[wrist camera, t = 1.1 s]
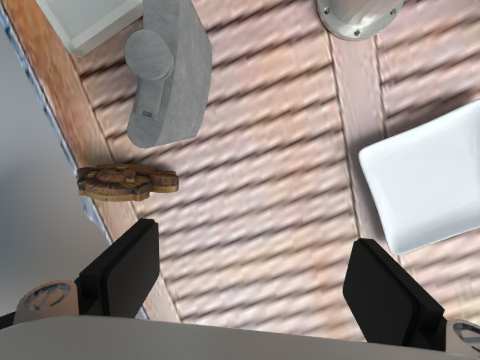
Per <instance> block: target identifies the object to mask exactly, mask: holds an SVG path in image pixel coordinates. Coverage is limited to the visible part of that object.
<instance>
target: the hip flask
mask: <svg viewBox="0 0 480 360" xmlns="http://www.w3.org/2000/svg"><path fill="white" fill-rule="evenodd" d="M124 53H125V59H126V62H127V64H128V67H129V68H130V70H131V71H133V73H134V74H136V75H137V76H139V79H138V86H137V91H136V96H135V101H134V105H133V109H132V113H131V116H130V120H129V123H128V126H127V133H128V137H129V139H130V140H131V142H132V143H133V144H134V145H136V146H138V147H140V148H150V147H155V146H159V145H163V144H168V143H172V142H176V141H180V140H185V139H189V138H193V137H195V136H196V135H197V133H198V131H199V128H200V125H201V123H202V120H203V116H204V113H205V109H206V105H207V100H208V94H209V88H210V81H211V71H212V46H211V43H210V41H209V39H208V36H207V34H206V32H205V30H204V28H203V25H202V23H201V21H200V19H199V17H198V14H197V12H196V10H195V8H194V6H193V3H192V1H191V0H143V29H142V30H138V31H136V32H134V33H133V34H131V35H130V37H129V38H128V40H127V42H126V45H125V51H124Z"/></svg>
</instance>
